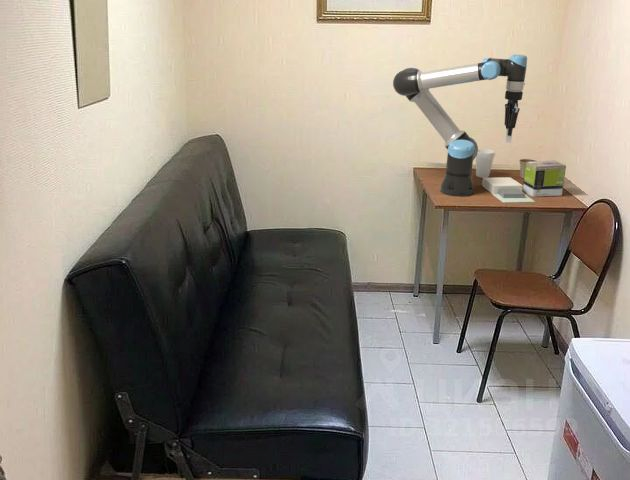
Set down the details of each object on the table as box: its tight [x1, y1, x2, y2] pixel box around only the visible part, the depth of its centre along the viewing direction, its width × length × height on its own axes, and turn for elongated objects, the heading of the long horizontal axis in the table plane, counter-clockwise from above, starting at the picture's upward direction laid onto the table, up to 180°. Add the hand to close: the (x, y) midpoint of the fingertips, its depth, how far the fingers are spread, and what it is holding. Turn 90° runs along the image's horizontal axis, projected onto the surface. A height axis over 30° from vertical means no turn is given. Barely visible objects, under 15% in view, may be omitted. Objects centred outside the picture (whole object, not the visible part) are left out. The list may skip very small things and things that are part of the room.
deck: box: [481, 176, 524, 195], centre depth 302 cm, size 14×14×4 cm
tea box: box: [522, 160, 567, 198], centre depth 296 cm, size 15×10×15 cm, turn 100°
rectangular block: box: [498, 189, 526, 198], centre depth 292 cm, size 10×7×2 cm
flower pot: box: [519, 158, 537, 180], centre depth 323 cm, size 9×9×9 cm
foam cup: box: [475, 148, 496, 179], centre depth 323 cm, size 10×9×13 cm
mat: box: [492, 194, 536, 204], centre depth 290 cm, size 15×12×1 cm
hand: (507, 142), depth 295 cm, fingers closed
